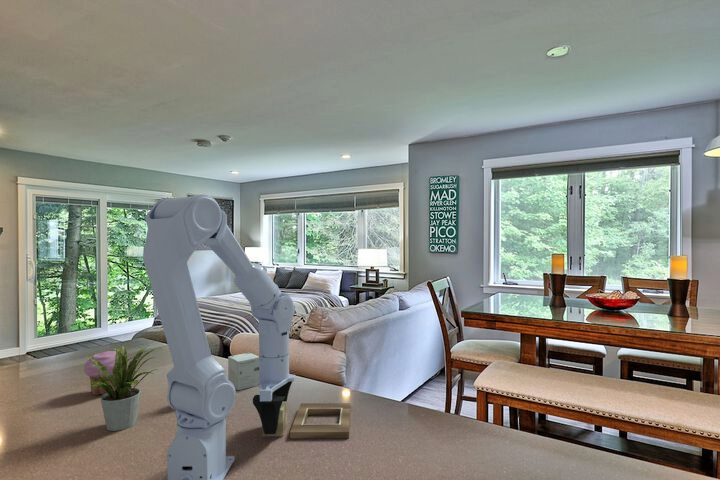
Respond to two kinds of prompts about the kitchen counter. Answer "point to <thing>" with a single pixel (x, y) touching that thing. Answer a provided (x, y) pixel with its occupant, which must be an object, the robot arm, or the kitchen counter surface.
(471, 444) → the kitchen counter surface
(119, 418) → the house plant
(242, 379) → the skincare box
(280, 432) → the beige block with stripe
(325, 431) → the plate
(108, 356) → the cupcake
